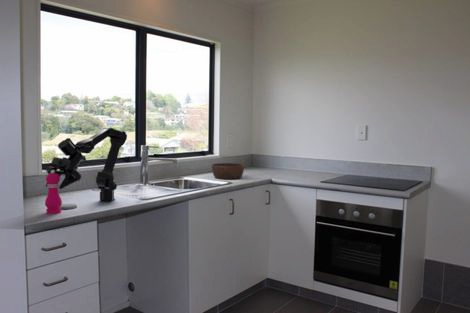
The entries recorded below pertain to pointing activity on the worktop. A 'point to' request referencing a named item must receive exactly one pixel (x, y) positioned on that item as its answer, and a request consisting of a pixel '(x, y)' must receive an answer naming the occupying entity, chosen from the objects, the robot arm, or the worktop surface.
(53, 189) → the pepper mill
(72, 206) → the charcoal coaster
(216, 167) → the wooden bowl
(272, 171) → the worktop surface
